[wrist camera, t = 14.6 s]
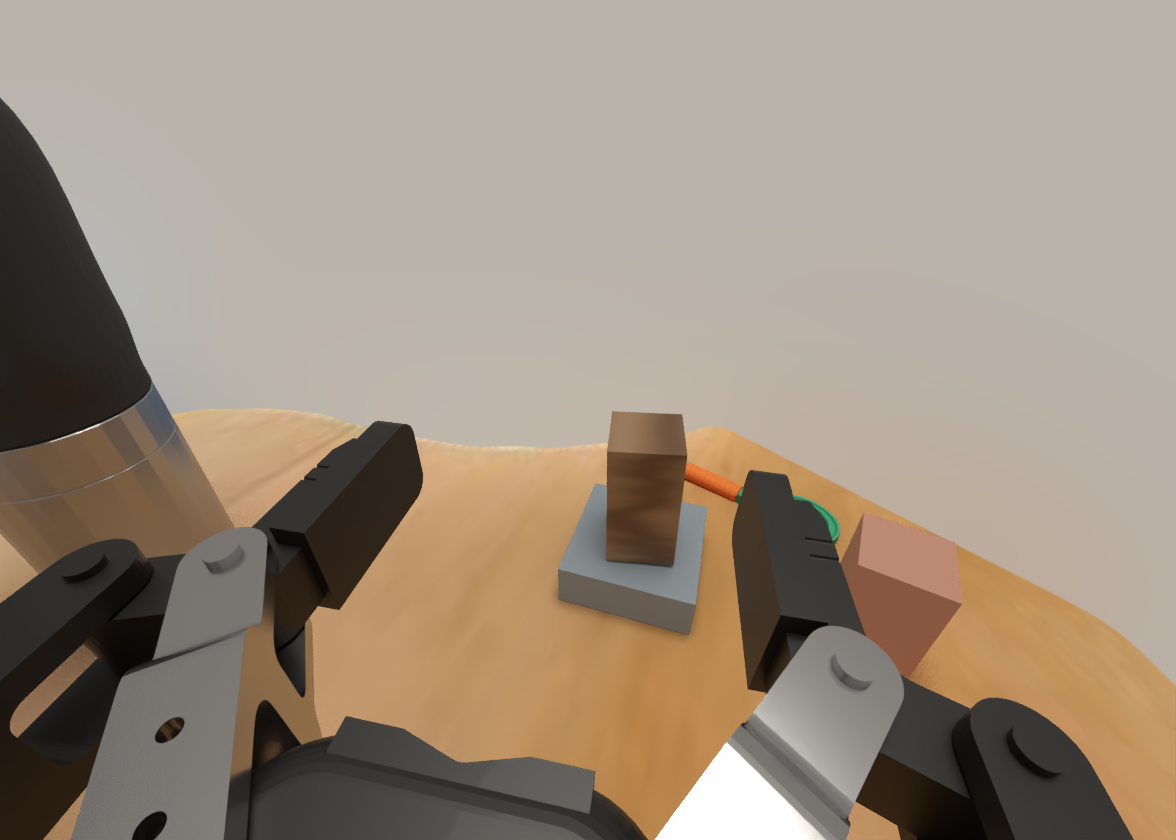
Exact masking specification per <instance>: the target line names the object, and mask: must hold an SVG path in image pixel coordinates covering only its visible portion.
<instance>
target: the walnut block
mask: <svg viewBox="0 0 1176 840" xmlns="http://www.w3.org/2000/svg"><path fill="white" fill-rule="evenodd" d="M686 462H687V449H686V441H685V433H684V426H683V417H682V415H681V414H657V413H635V412H612V419H611V427H610V434H609V442H608V450H607V523H606V560H609V561H622V562H635V563H648V564H661V565H674V559H675V551H676V543H677V535H678V527H679V519H680V511H681V502H682V494H683V486H684V478H685V470H686Z"/></svg>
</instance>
